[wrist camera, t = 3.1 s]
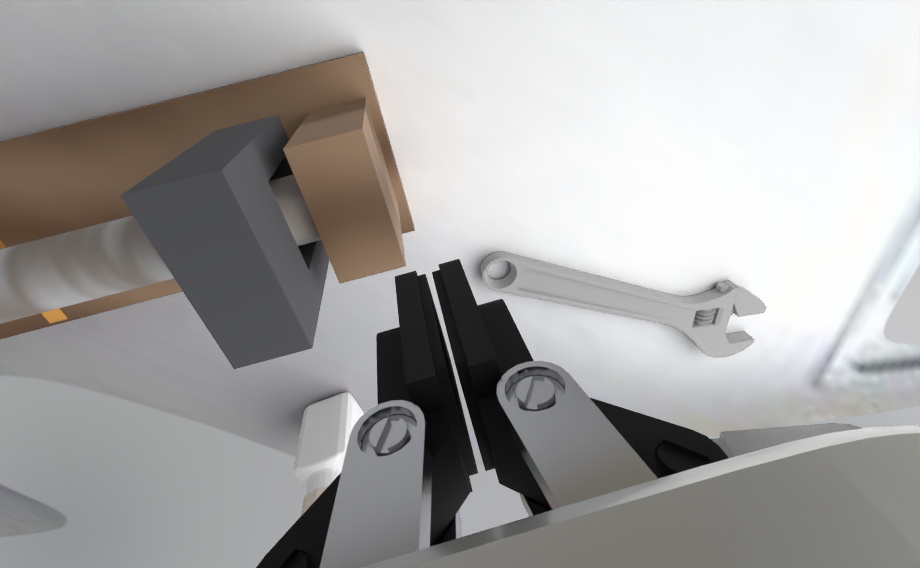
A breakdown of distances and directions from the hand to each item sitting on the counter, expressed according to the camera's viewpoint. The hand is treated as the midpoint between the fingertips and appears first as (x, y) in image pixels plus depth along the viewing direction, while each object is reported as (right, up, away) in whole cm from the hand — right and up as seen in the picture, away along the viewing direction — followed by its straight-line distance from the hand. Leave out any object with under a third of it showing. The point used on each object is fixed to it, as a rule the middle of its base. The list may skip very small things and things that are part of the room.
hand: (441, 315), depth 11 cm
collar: (-9, +5, +11) cm, 15 cm away
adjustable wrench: (+14, +1, +23) cm, 27 cm away
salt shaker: (-9, -9, +24) cm, 27 cm away
